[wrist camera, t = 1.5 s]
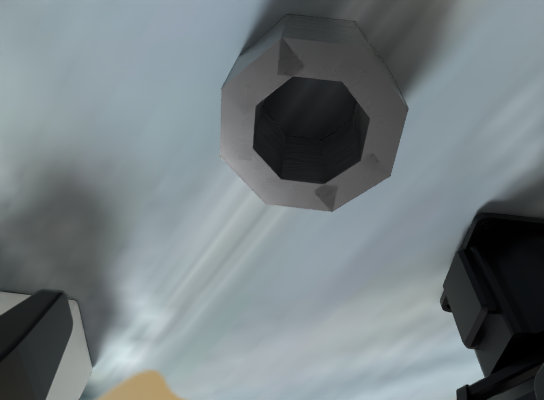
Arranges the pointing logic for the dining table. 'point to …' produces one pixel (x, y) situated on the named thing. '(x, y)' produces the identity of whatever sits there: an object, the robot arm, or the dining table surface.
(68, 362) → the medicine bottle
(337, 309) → the dining table surface
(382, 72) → the hub ring
